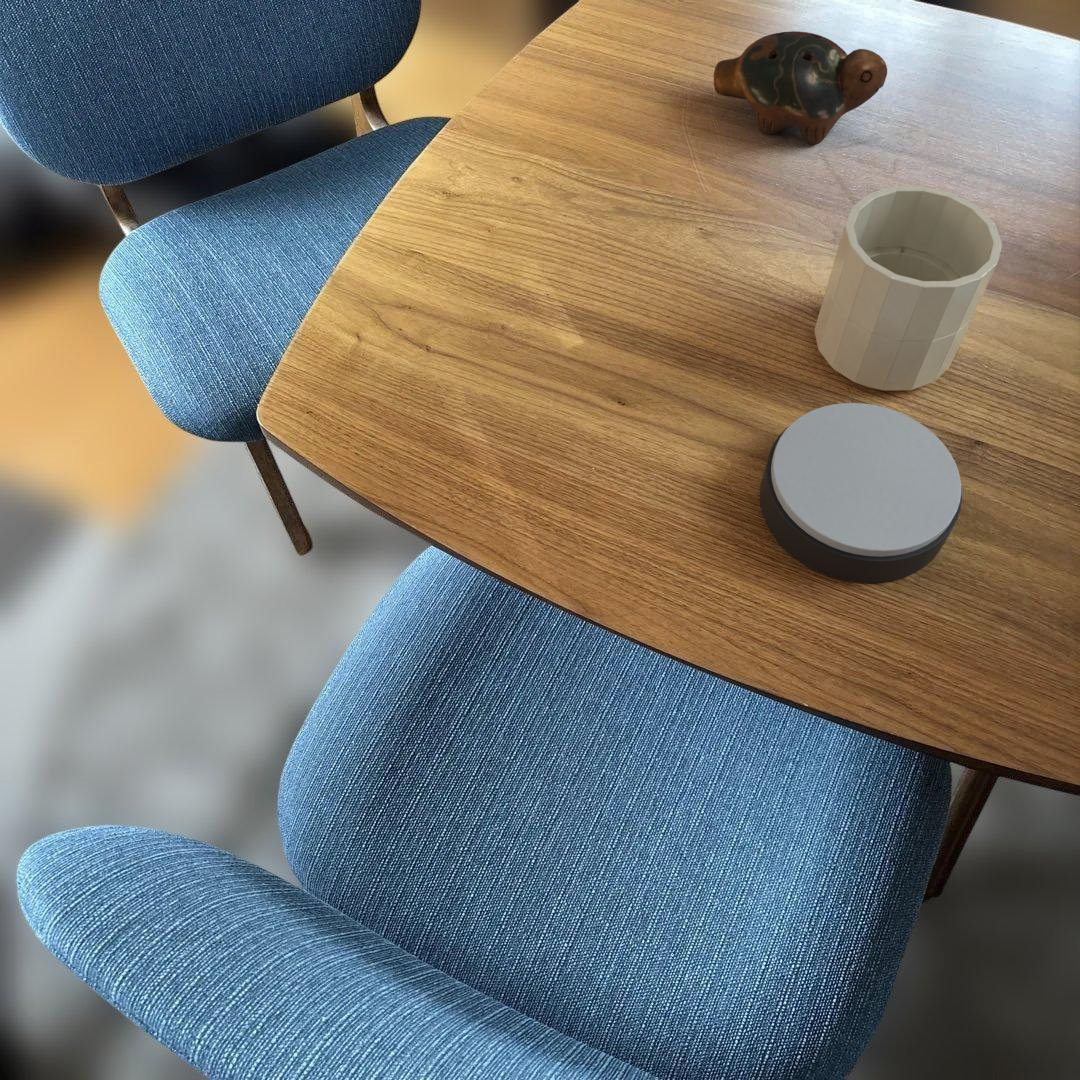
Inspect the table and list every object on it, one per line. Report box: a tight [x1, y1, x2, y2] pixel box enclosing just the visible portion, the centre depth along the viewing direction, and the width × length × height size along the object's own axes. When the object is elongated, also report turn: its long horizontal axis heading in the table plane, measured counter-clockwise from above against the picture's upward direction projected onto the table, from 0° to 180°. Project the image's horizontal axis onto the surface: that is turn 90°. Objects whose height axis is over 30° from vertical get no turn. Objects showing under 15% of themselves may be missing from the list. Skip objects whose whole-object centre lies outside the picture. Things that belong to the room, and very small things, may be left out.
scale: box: [759, 402, 963, 584], centre depth 70 cm, size 13×13×4 cm
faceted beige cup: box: [813, 185, 1003, 391], centre depth 75 cm, size 10×10×11 cm
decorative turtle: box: [713, 30, 888, 146], centre depth 93 cm, size 10×15×8 cm, turn 74°
